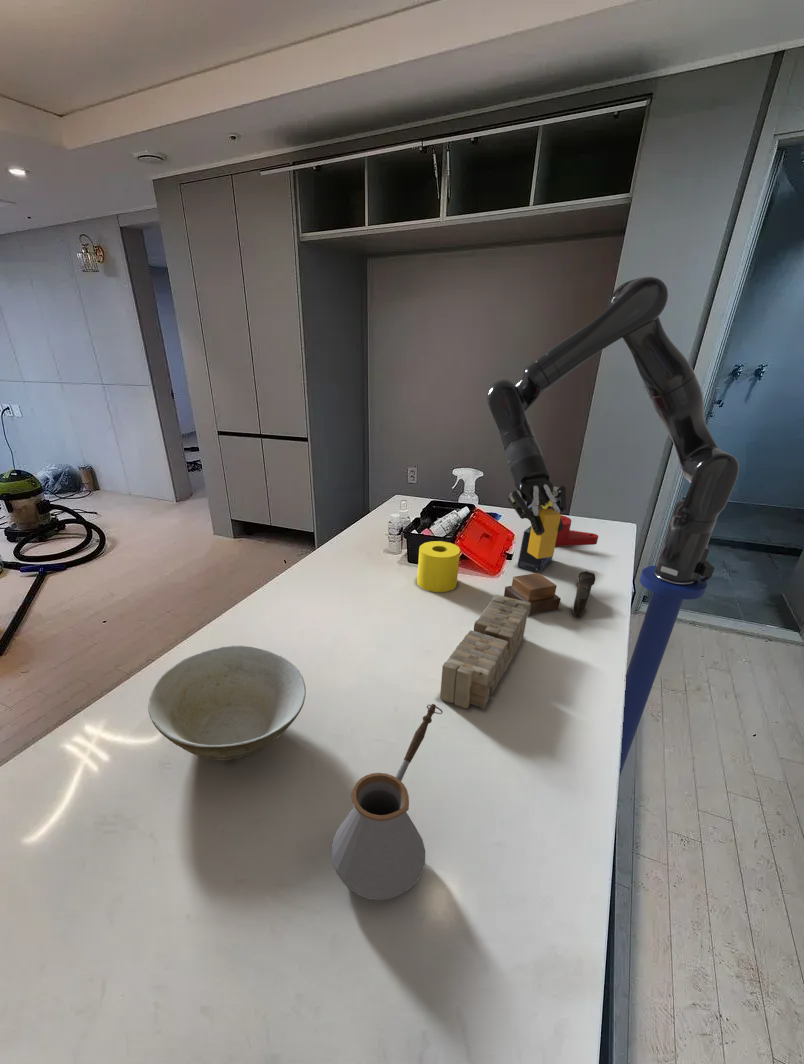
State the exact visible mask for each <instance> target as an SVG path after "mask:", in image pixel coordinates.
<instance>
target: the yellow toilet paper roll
mask: <svg viewBox="0 0 804 1064" xmlns="http://www.w3.org/2000/svg"><path fill="white" fill-rule="evenodd" d="M460 556H461V548H460V547H459V546H458V545H457V544H454V543H452V542H448V541H443V540H433V541H426V542H424V543H422V544H420V545H419V548H418V560H417V561H418V562H417V577H416V584H417V586H418V587H420V588H421V589H423V590H425V591H428V592H434V593H445V592H446V593H447V592H450V591H453V590H454V589H455V588H456V587H457V584H458V574H459V564H460Z"/></svg>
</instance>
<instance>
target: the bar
mask: <svg viewBox="0 0 804 1064" xmlns="http://www.w3.org/2000/svg"><path fill="white" fill-rule="evenodd" d="M538 513H539V514H538V516H540V518H541V521H542V524H543V527H544V530H545V532H544V533H543V534H541V535H536V533H534V531H533V528H532V527H531V533H530V538H529V544H528V550H527V552H528V553H529V554H531V555H532V556H534V557H535V558H537V559H540V558H547V557H552V558H553V557H554V552H555V549H556V548H555V547H556V546H555V543H556V538H557V533H558V527H559V523H560V518H561V515H562V514H561V513H558V512H556V511H554V510H553V509H550V508H549V509H543V508H542V509H538Z"/></svg>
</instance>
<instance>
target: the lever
mask: <svg viewBox="0 0 804 1064" xmlns="http://www.w3.org/2000/svg"><path fill="white" fill-rule="evenodd" d="M561 519H562V523H563V530H562V531H560V532H559V533H557V538H556V543H555V547H561V546H564V547H565V546H591V545H592V546H593V545H594V546H595V545H597V543H598V540H599V535H598V534H596V533H592V532H586V531H585V532H584V531H578V530H571V526H572V519H571V518H570V517H568V516H566V515H562V514H561Z"/></svg>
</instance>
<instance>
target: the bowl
mask: <svg viewBox="0 0 804 1064" xmlns="http://www.w3.org/2000/svg"><path fill="white" fill-rule="evenodd" d="M150 692H151V693H150V695H149V699H148V705H147V711H148V715H149V719H150V720H151V723H152V724H153V725H154V727H155V729H156V730H158V732H159V733H160V734H161V735H163V736H164V738H166V739H167V740H168V741H170V742H171V743H173V744H174V745H176V746H178V747H179V748H181V749H183V750H184V751H186V752H187V753H190V754H193V755H195V756H197V757H201V758H206V759H210V760H217V761H218V760H219V761H231V760H237V759H241V758H245V757H248V756H250V755H253V754H255V753H258V752H259V751H262V749H264V748H265V747H268V746H269V745H270V744H272V743H273V742H274V741H275V740H276V739H278V738H279V737H280V736H281V735H283V734H284V733H285V731H287V729H288V728H289V727H290V726H291V725H292V724H293V722H294V721H295V720H296V718H298V716H299V714H300V713H301V711H302V709H303V707H304V704H305V699H306V694H307V688H306V684H305V680H304V677H303V675H302V673H301V672H300V670H299V668H298V667H296V665H294V664H293V662H291V661H290V660H288V659H287V658H285V657H283V656H282V655H279V654H277V653H274V652H272V651H270V650H267V649H263V648H258V647H254V646H247V645H230V646H222V647H218V648H212V649H207V650H205V651H202V652H200V653H197V654H193V655H191V656H188V657H186V658H184V659H182V660H180V661H179V662H177V663H176V664H175V665H173V666H171V668H169V669H167V671H165V672H164V673H163V674H162V675H161V676H160V678H159V679H158V680H157V682H156V683H155V685H154V686H153V688H152V689H151V691H150Z"/></svg>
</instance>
